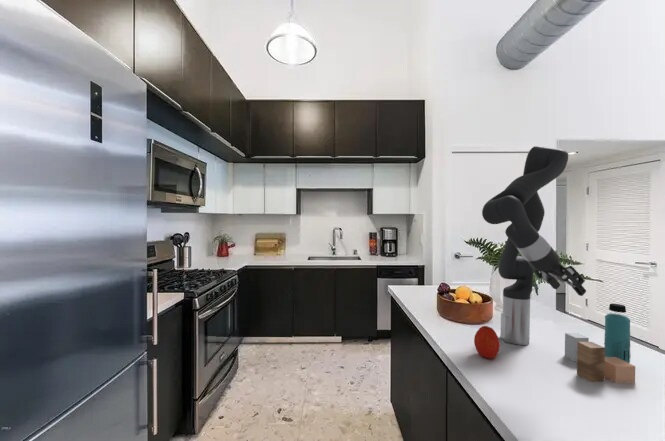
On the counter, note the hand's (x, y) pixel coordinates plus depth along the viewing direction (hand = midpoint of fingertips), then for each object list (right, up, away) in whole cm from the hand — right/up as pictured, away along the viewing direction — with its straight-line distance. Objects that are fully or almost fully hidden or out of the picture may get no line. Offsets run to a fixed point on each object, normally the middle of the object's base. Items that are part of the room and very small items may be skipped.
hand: (569, 290), depth 93 cm
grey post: (+13, -27, +14) cm, 33 cm away
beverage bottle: (+23, -27, +10) cm, 37 cm away
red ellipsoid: (-18, -26, +15) cm, 35 cm away
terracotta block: (+15, -27, +1) cm, 31 cm away
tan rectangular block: (+7, -27, +1) cm, 28 cm away
